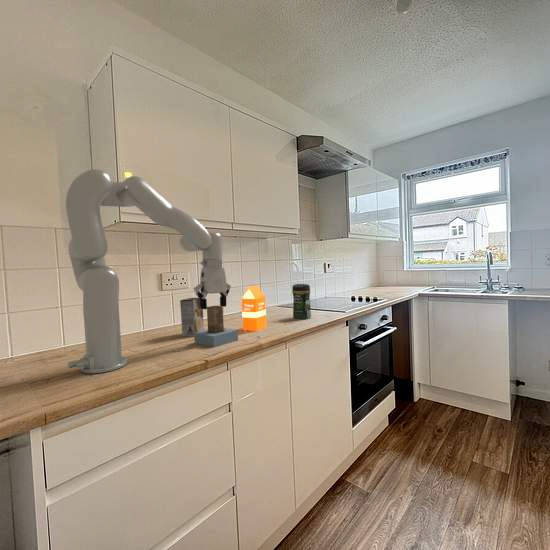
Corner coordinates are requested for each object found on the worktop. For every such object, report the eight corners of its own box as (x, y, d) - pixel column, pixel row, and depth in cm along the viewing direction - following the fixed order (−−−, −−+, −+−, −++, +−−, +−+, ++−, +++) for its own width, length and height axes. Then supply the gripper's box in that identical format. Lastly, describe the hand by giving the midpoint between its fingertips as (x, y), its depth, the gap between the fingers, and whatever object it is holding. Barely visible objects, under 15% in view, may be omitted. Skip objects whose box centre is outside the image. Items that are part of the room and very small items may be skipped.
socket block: (214, 347, 111) (213, 336, 111) (195, 342, 118) (194, 332, 118) (238, 340, 120) (237, 330, 120) (218, 336, 128) (218, 327, 127)
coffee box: (191, 331, 139) (189, 297, 139) (204, 331, 138) (202, 297, 138) (181, 336, 130) (179, 299, 130) (195, 336, 129) (193, 299, 129)
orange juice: (266, 327, 142) (264, 285, 142) (257, 331, 134) (255, 286, 134) (252, 326, 146) (250, 285, 145) (242, 330, 138) (240, 287, 137)
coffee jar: (290, 318, 164) (289, 284, 163) (300, 316, 169) (298, 283, 168) (304, 320, 157) (302, 284, 156) (313, 317, 162) (312, 283, 162)
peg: (215, 343, 116) (213, 307, 116) (208, 342, 119) (206, 306, 118) (224, 341, 119) (222, 306, 119) (217, 339, 122) (215, 305, 122)
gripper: (199, 264, 109) (201, 311, 109) (235, 264, 122) (236, 305, 123) (188, 264, 114) (189, 309, 114) (223, 264, 127) (224, 304, 127)
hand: (213, 307), depth 118 cm, fingers open, 9 cm apart
